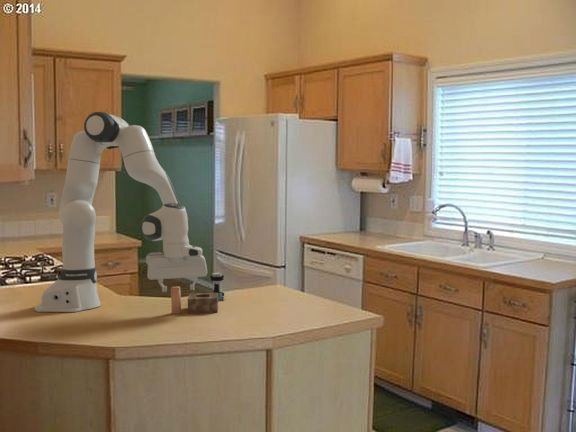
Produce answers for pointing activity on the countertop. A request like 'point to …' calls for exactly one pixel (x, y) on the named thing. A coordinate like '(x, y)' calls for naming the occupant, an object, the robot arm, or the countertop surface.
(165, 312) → the countertop surface
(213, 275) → the push button
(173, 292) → the dowel
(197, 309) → the socket block
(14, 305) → the countertop surface
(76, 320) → the countertop surface
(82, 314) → the countertop surface
